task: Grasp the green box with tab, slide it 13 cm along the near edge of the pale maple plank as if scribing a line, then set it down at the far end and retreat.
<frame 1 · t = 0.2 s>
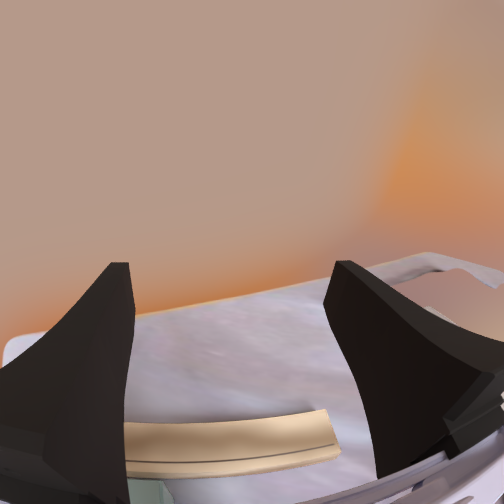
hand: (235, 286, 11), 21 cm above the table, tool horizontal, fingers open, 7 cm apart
plank: (212, 453, 23), on the table
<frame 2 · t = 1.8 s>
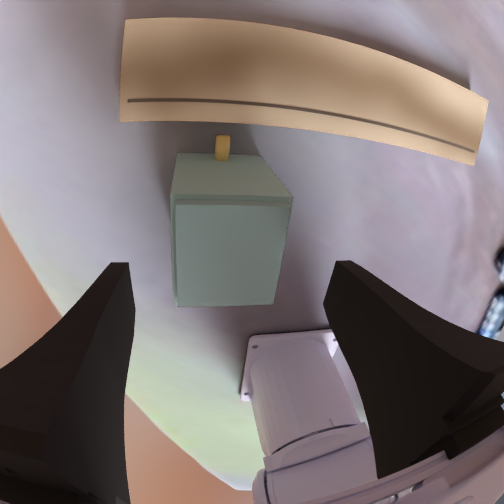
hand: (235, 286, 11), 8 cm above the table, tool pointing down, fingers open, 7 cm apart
plank: (336, 86, 15), on the table
green box with tab: (216, 196, 17), on the table
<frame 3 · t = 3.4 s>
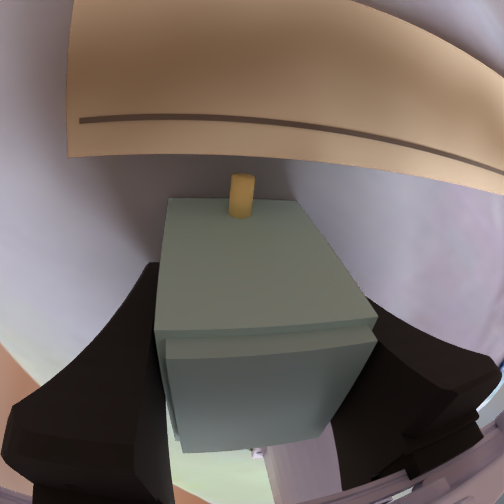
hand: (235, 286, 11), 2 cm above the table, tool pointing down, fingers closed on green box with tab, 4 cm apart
plank: (407, 100, 10), on the table
green box with tab: (229, 259, 12), on the table, touching gripper
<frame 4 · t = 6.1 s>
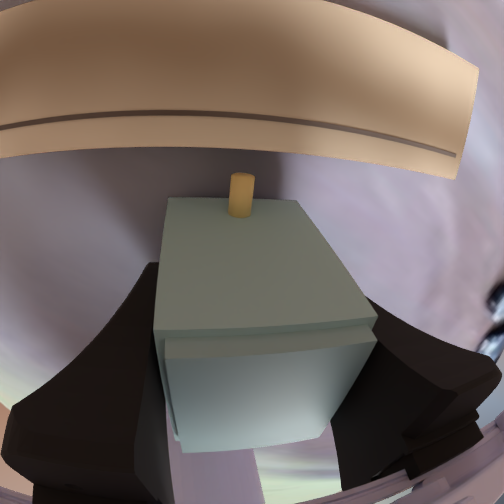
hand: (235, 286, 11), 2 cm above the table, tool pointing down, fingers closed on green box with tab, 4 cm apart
plank: (176, 63, 8), on the table
green box with tab: (228, 259, 12), point 1 cm above the table, touching gripper
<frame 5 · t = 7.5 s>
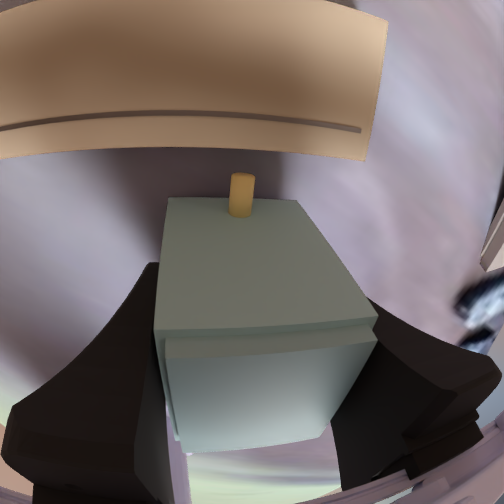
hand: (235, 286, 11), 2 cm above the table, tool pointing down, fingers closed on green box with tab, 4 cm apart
plank: (44, 75, 7), on the table
green box with tab: (229, 259, 12), point 1 cm above the table, touching gripper
when the fingers open (2 cm above the table, at t = 8.9 s): green box with tab stays where it is, on the table.
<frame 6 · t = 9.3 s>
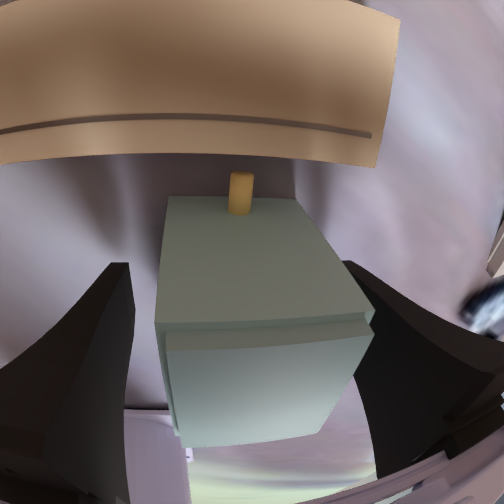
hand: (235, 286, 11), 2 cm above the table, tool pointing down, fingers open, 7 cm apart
plank: (35, 76, 7), on the table
green box with tab: (228, 256, 12), on the table
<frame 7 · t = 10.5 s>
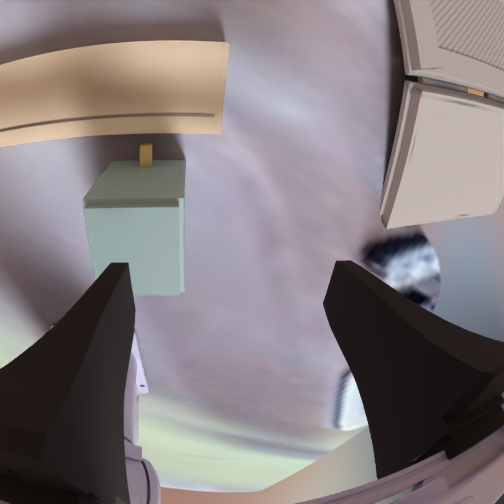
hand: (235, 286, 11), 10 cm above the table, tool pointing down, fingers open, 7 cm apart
plank: (40, 96, 13), on the table
gadget: (456, 87, 18), on the table
green box with tab: (149, 198, 19), on the table
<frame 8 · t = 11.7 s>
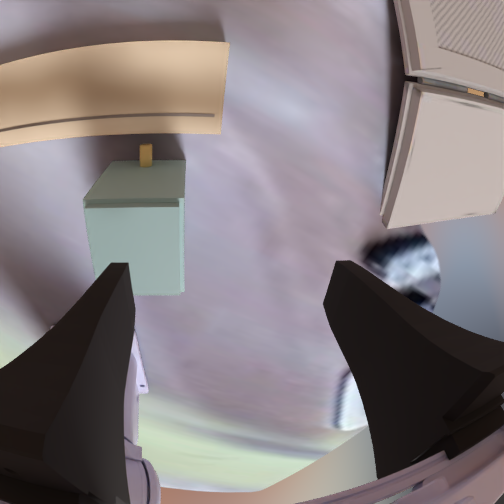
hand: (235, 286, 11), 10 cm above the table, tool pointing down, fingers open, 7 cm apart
plank: (40, 96, 13), on the table
gadget: (456, 87, 18), on the table
green box with tab: (149, 198, 19), on the table
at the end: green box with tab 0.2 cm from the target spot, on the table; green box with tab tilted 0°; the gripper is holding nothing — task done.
